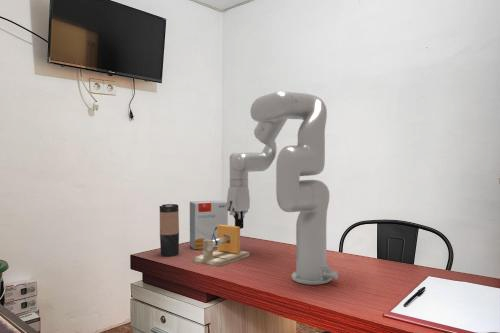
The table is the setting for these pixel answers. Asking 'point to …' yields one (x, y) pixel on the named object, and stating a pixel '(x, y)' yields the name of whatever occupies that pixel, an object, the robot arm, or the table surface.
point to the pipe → (221, 240)
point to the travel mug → (169, 230)
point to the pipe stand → (218, 255)
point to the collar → (234, 238)
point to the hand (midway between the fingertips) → (239, 228)
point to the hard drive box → (206, 221)
